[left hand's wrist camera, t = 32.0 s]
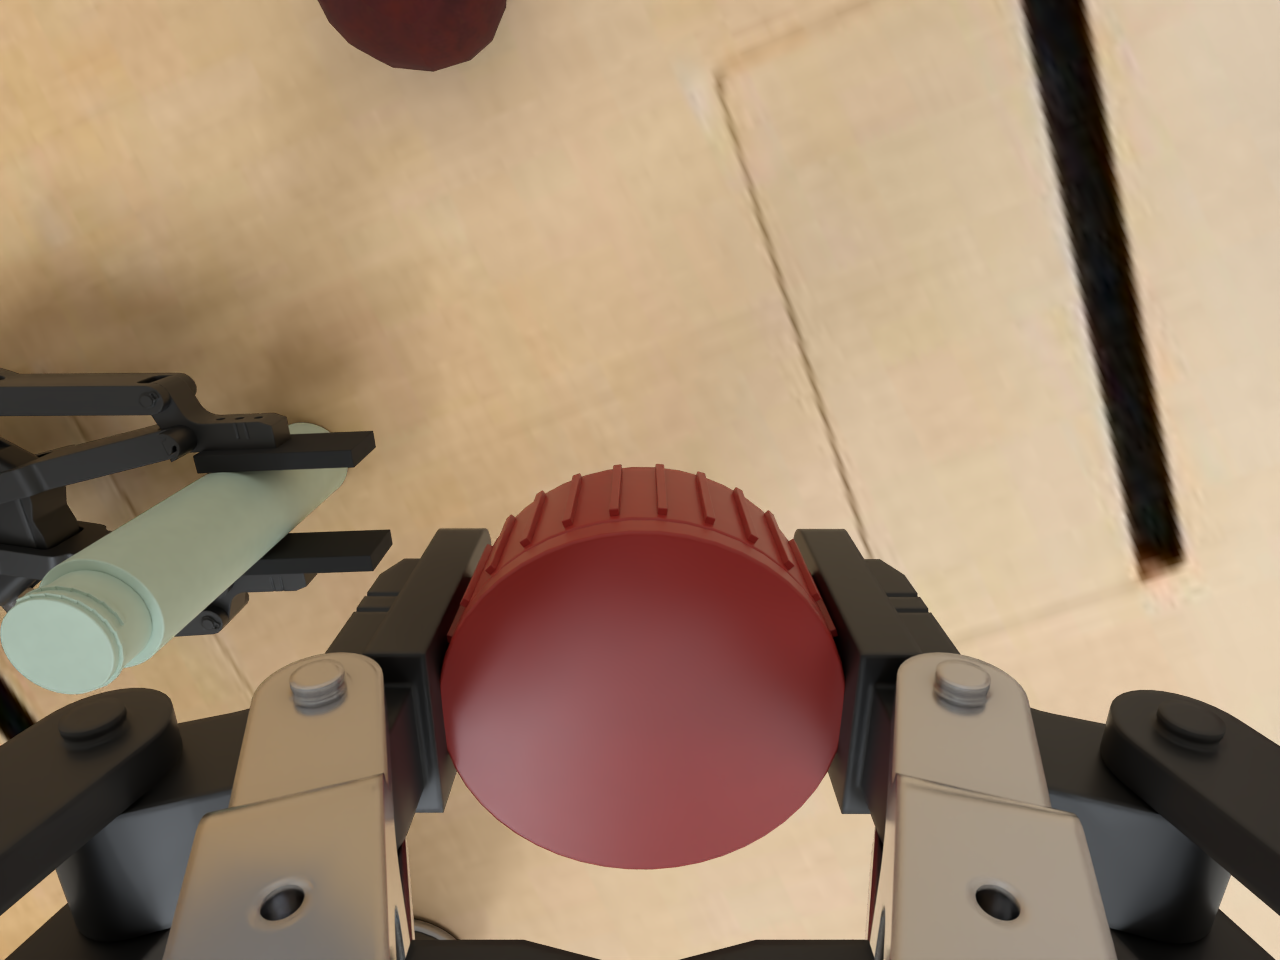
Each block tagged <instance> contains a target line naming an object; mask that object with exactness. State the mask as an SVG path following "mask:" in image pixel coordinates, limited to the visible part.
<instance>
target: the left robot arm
mask: <svg viewBox="0 0 1280 960" xmlns="http://www.w3.org/2000/svg"><path fill="white" fill-rule="evenodd" d="M794 540H795V542H796V544H797V546H798V548H799V550H800V552H801V554H802V557H803V559H804V561H805V563H806V565H807V568H808V570H809V571H810V573H811V575H812V577H813V579H814V582H815V584H816V586H817V588H818V590H819V593H820V595H821V597H822V599H823V601H824V604H825V606H826V608H827V610H828V613H829V615H830V617H831V619H832V621H833V624H834V626H835V628H836V631H837V634H838V636H836V637H833V639H834V642H835V645H836V647H837V650H838V653H839V656H840V658H841V661H842V666H843V671H844V676H845V690H844V700H843V709H842V717H841V726H840V734H839V742H838V749H837V752H836V754H835V757H834V759H833V761H832V763H831V765H830V767H829V770H828V773H829V776H830V779H831V782H832V785H833V789H834V792H835V795H836V798H837V801H838V804H839V807H840V810H841V813H842V814H871V816H872V819H873V822H874V824H875V832H874V839H873V846H872V853H871V865H870V879H869V893H868V906H867V920H866V933H865V940H754V941H750V942H746V943H742V944H738V945H734V946H731V947H727V948H723V949H719V950H715V951H711V952H707V953H704V954H700V955H696V956H692V957H688V958H684V959H680V960H1275V959H1274V958H1273V957H1272V956H1271V955H1270V954H1269V953H1267V952H1266V951H1265V950H1264V949H1263V948H1262V947H1261V946H1260V945H1259V944H1257V943H1256V942H1255V941H1254V940H1253V939H1252V938H1251V937H1250V936H1249V935H1247V934H1246V933H1245V932H1244V931H1243V930H1242V929H1241V928H1240V927H1239V926H1237V925H1236V924H1235V923H1234V922H1233V921H1232V920H1231V919H1230V918H1229V917H1228V916H1226V915H1225V914H1224V913H1223V912H1222V911H1221V910H1220V909H1219V906H1220V903H1221V901H1222V898H1223V895H1224V892H1225V890H1226V887H1227V884H1228V882H1229V879H1230V876H1231V875H1232V876H1233V877H1235V878H1236V879H1237V880H1238V881H1239V882H1240V883H1242V884H1243V885H1244V886H1245V887H1246V888H1248V889H1249V890H1250V891H1251V892H1252V893H1253V894H1255V895H1256V896H1257V897H1258V898H1259V899H1261V900H1262V901H1263V902H1264V903H1265V904H1266V905H1268V906H1269V907H1270V908H1271V909H1272V910H1274V911H1275V912H1276V913H1277V914H1278V915H1279V916H1280V746H1279V745H1277V744H1276V743H1274V742H1273V741H1271V740H1269V739H1268V738H1266V737H1265V736H1263V735H1262V734H1260V733H1259V732H1257V731H1256V730H1254V729H1252V728H1251V727H1249V726H1248V725H1246V724H1245V723H1243V722H1242V721H1240V720H1238V719H1237V718H1235V717H1233V716H1232V715H1230V714H1228V713H1226V712H1224V711H1222V710H1220V709H1218V708H1216V707H1214V706H1212V705H1209V704H1207V703H1204V702H1202V701H1199V700H1196V699H1193V698H1190V697H1187V696H1183V695H1179V694H1175V693H1169V692H1164V691H1155V690H1137V691H1130V692H1126V693H1123V694H1121V695H1119V696H1117V697H1116V698H1115V699H1114V700H1113V701H1112V704H1111V706H1110V710H1109V714H1108V718H1107V721H1106V724H1102V723H1097V722H1092V721H1087V720H1082V719H1077V718H1072V717H1067V716H1062V715H1057V714H1052V713H1048V712H1043V711H1039V710H1036V709H1033V708H1030V706H1029V701H1028V698H1027V695H1026V693H1025V691H1024V690H1023V688H1022V687H1021V685H1020V684H1019V683H1018V682H1017V681H1016V680H1015V679H1013V678H1012V677H1011V676H1010V675H1008V674H1007V673H1005V672H1004V671H1002V670H1001V669H999V668H997V667H995V666H993V665H991V664H989V663H986V662H984V661H981V660H979V659H975V658H972V657H969V656H964V655H961V654H960V653H959V652H958V650H957V649H956V647H955V646H954V644H953V643H952V642H951V640H950V639H949V637H948V636H947V635H946V633H945V632H944V630H943V629H942V627H941V626H940V625H939V623H938V622H937V620H936V619H935V618H934V616H933V615H932V613H928V608H927V606H926V605H925V603H924V602H923V601H922V599H921V598H920V597H917V592H916V591H915V589H914V588H913V586H912V585H911V584H910V582H909V581H908V579H907V578H906V577H905V575H904V574H902V573H900V572H899V571H897V570H896V569H894V568H893V567H891V566H890V565H888V564H886V563H885V562H883V561H882V560H880V559H864V558H863V557H862V555H861V553H860V552H859V550H858V549H857V547H856V545H855V544H854V542H853V541H852V539H851V537H850V536H849V534H848V533H847V531H846V530H845V529H797V530H796V532H795V535H794ZM487 544H489V545H491V539H490V534H489V531H488V530H487V529H439V530H438V531H437V532H436V534H435V536H434V537H433V539H432V540H431V542H430V544H429V545H428V547H427V549H426V550H425V552H424V554H423V555H422V557H421V558H420V559H403V560H402V561H400V562H398V563H397V564H395V565H394V566H392V567H391V568H389V569H388V570H386V571H385V572H383V573H381V574H380V575H379V577H378V578H377V579H376V581H375V582H374V584H373V585H372V587H371V588H370V590H369V591H368V592H367V596H365V597H364V598H363V600H362V601H361V602H360V604H359V605H358V607H357V611H356V612H353V614H352V615H351V617H350V618H349V620H348V621H347V623H346V624H345V625H344V627H343V628H342V630H341V631H340V633H339V634H338V635H337V637H336V638H335V640H334V641H333V643H332V644H331V645H330V647H329V648H328V650H327V651H326V653H325V654H320V655H316V656H311V657H308V658H305V659H301V660H299V661H296V662H294V663H291V664H289V665H287V666H285V667H283V668H281V669H279V670H278V671H276V672H275V673H273V674H272V675H270V676H269V677H268V678H267V679H265V680H264V681H263V682H262V683H261V684H260V685H259V687H258V688H257V690H256V691H255V693H254V695H253V698H252V701H251V706H250V709H246V710H242V711H238V712H234V713H229V714H224V715H219V716H214V717H209V718H203V719H198V720H193V721H188V722H183V723H177V720H176V716H175V712H174V708H173V705H172V702H171V700H170V698H169V697H168V696H167V695H166V694H164V693H162V692H160V691H157V690H153V689H147V688H128V689H119V690H113V691H108V692H104V693H100V694H96V695H93V696H90V697H87V698H84V699H81V700H79V701H76V702H74V703H71V704H69V705H67V706H65V707H63V708H61V709H59V710H57V711H55V712H53V713H51V714H50V715H48V716H46V717H45V718H43V719H42V720H40V721H38V722H37V723H35V724H34V725H32V726H31V727H29V728H28V729H26V730H25V731H23V732H21V733H20V734H18V735H17V736H15V737H14V738H12V739H11V740H9V741H7V742H6V743H4V744H3V745H1V746H0V916H1V915H2V914H3V913H4V912H5V911H6V910H8V909H9V908H10V907H11V906H12V905H14V904H15V903H16V902H17V901H18V900H19V899H21V898H22V897H23V896H24V895H25V894H27V893H28V892H29V891H30V890H31V889H33V888H34V887H35V886H36V885H37V884H38V883H40V882H41V881H42V880H43V879H44V878H46V877H47V876H48V875H49V874H50V873H51V872H53V871H54V870H55V869H56V872H57V875H58V877H59V880H60V883H61V886H62V888H63V891H64V894H65V897H66V899H67V902H68V903H67V904H66V905H65V906H64V907H62V908H61V909H60V910H59V911H58V912H57V913H56V914H55V915H54V916H52V917H51V918H50V919H49V920H48V921H47V922H46V923H45V924H44V925H43V926H41V927H40V928H39V929H38V930H37V931H36V932H35V933H34V934H33V935H31V936H30V937H29V938H28V939H27V940H26V941H25V942H24V943H23V944H21V945H20V946H19V947H18V948H17V949H16V950H15V951H14V952H13V953H12V954H10V955H9V956H8V957H7V958H6V959H5V960H600V959H596V958H592V957H588V956H584V955H580V954H576V953H573V952H569V951H565V950H561V949H557V948H553V947H549V946H546V945H542V944H538V943H534V942H530V941H526V940H456V939H455V938H454V937H453V936H451V935H450V934H449V933H447V932H446V931H444V930H442V929H441V928H439V927H437V926H434V925H432V924H429V923H427V922H424V921H420V920H416V919H413V906H412V893H411V879H410V865H409V853H408V846H407V839H406V835H407V833H408V830H409V827H410V825H411V822H412V819H413V817H414V814H415V813H443V812H444V809H445V806H446V803H447V800H448V797H449V794H450V790H451V787H452V784H453V781H454V778H455V775H456V772H457V770H456V769H455V767H454V764H453V762H452V760H451V757H450V755H449V753H448V750H447V743H446V735H445V726H444V717H443V709H442V700H441V690H440V674H441V669H442V665H443V660H444V657H445V654H446V651H447V649H448V646H449V644H450V643H448V640H447V634H448V631H449V629H450V627H451V625H452V622H453V620H454V618H455V616H456V613H457V611H458V609H459V607H460V602H461V600H462V598H463V596H464V593H465V591H466V589H467V587H468V584H469V582H470V580H471V578H472V576H473V573H474V571H475V569H476V567H477V564H478V562H479V560H480V558H481V555H482V553H483V551H484V549H485V547H486V545H487Z"/></svg>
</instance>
